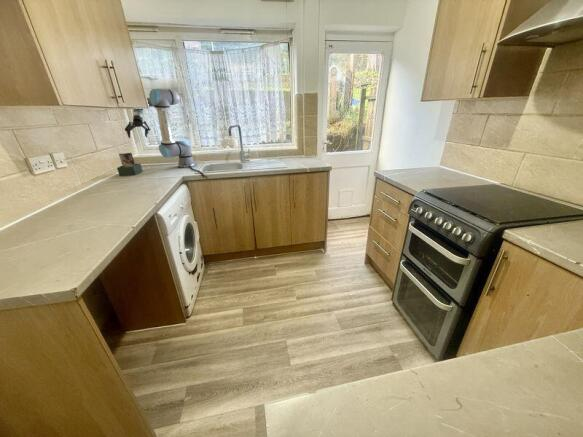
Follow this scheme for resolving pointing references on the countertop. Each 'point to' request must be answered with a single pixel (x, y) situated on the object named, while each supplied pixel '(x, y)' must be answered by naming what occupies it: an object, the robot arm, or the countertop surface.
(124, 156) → the coffee box
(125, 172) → the tote
